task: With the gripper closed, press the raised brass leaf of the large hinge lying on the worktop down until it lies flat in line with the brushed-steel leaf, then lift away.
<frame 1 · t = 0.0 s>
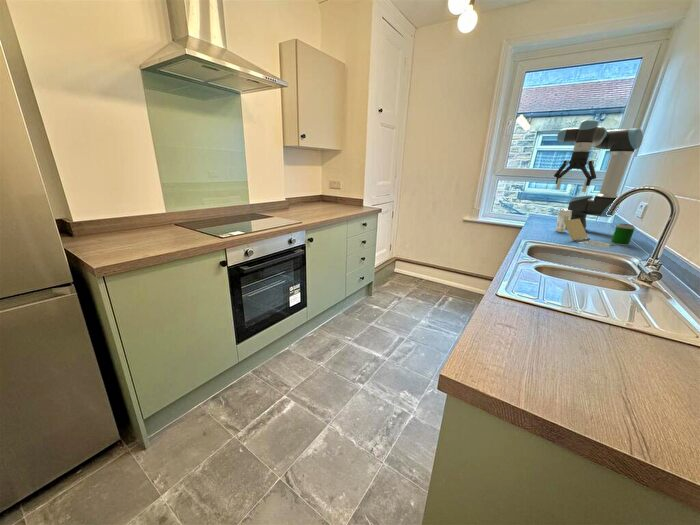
hand: (569, 190, 163), 28 cm above the worktop, tool pointing down, fingers open, 13 cm apart
base leaf: (581, 242, 163), on the worktop
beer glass: (559, 233, 187), on the worktop
swing leaf: (577, 230, 163), point 6 cm above the worktop, hinge at 55.0°
soda can: (618, 245, 160), on the worktop
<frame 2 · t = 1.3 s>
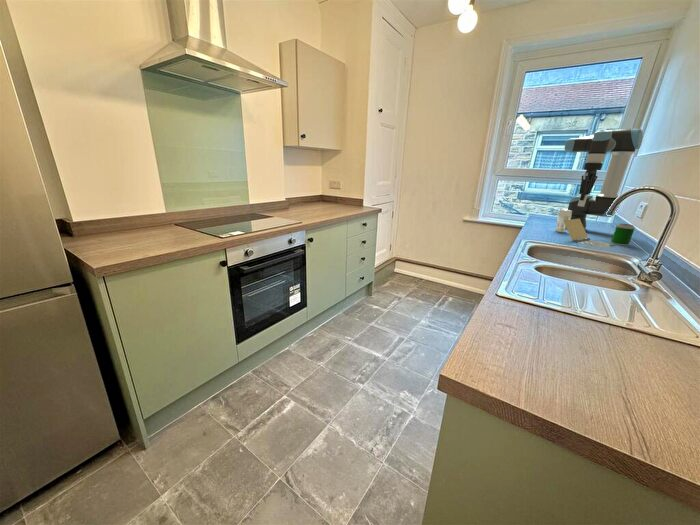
hand: (580, 206, 161), 20 cm above the worktop, tool pointing down, fingers closed
nothing on the worktop moved.
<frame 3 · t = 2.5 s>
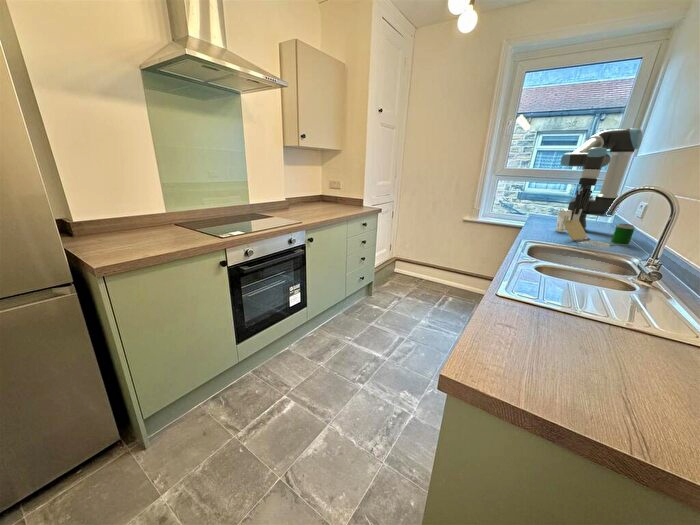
hand: (575, 219, 164), 12 cm above the worktop, tool pointing down, fingers closed
swing leaf: (576, 231, 164), point 6 cm above the worktop, hinge at 52.1°, touching gripper
everything else where it was.
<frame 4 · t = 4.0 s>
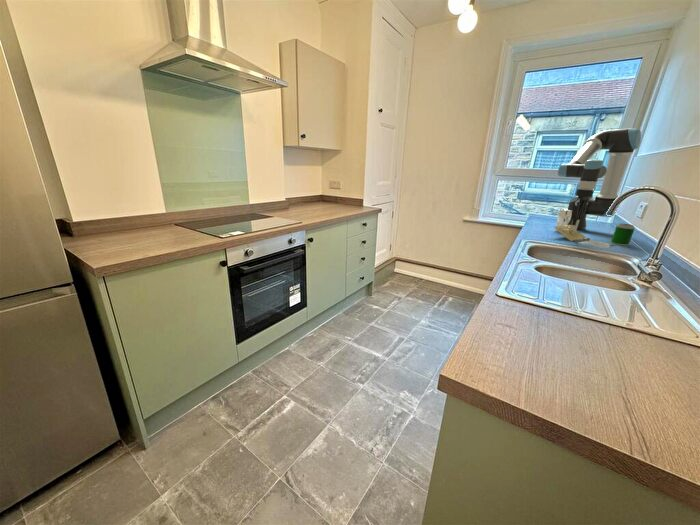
hand: (572, 230, 166), 6 cm above the worktop, tool pointing down, fingers closed
swing leaf: (572, 233, 166), point 4 cm above the worktop, hinge at 28.5°, touching gripper
everything else where it was.
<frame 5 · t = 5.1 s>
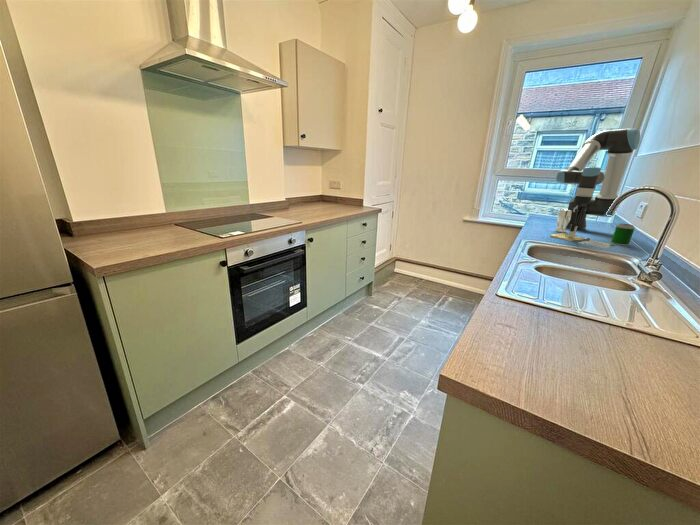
hand: (571, 236, 167), 2 cm above the worktop, tool pointing down, fingers closed
swing leaf: (570, 237, 167), point 2 cm above the worktop, hinge at 4.2°, touching gripper
everything else where it was.
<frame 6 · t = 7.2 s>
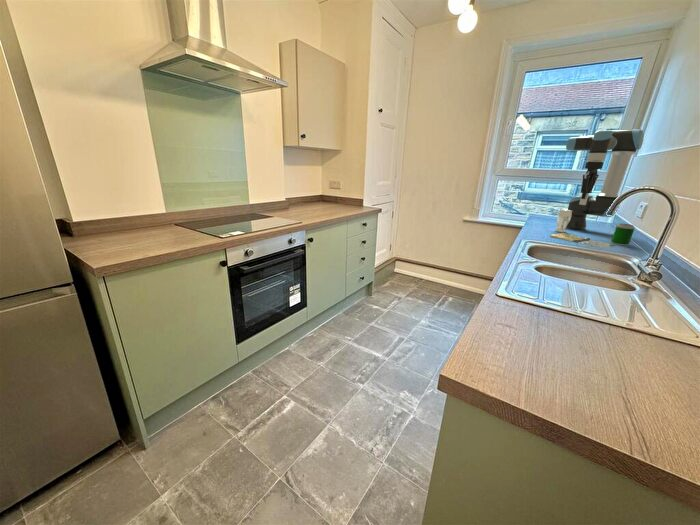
hand: (582, 204, 164), 21 cm above the worktop, tool pointing down, fingers closed
swing leaf: (570, 237, 167), point 2 cm above the worktop, hinge at 4.1°
everything else where it was.
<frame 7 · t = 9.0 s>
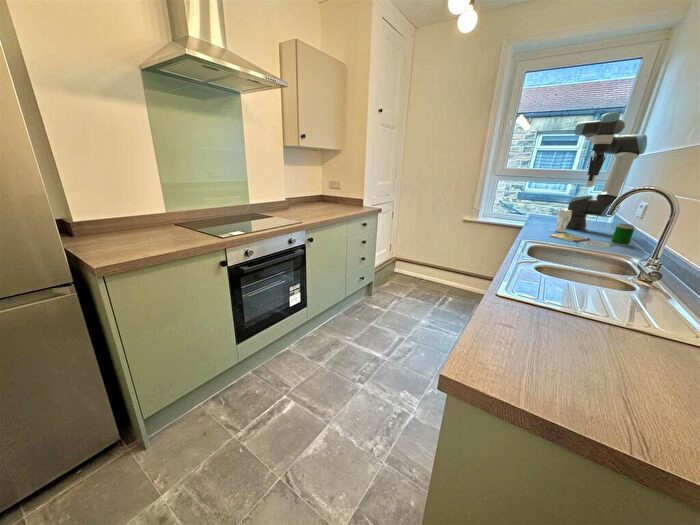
hand: (589, 186, 167), 30 cm above the worktop, tool pointing down, fingers closed
nothing on the worktop moved.
at the end: swing leaf at +4° (first picture: +55°); soda can moved 0.2 cm from its start; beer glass moved 0.2 cm from its start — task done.
